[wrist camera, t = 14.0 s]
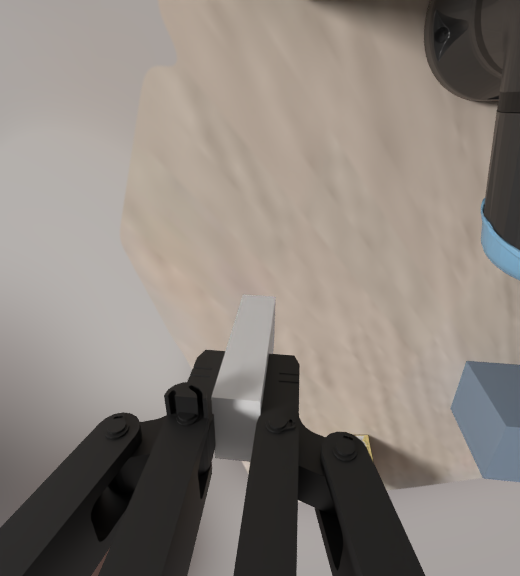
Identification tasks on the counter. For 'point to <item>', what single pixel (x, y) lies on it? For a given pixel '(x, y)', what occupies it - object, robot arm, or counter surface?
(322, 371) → the counter surface
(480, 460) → the block
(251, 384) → the robot arm
